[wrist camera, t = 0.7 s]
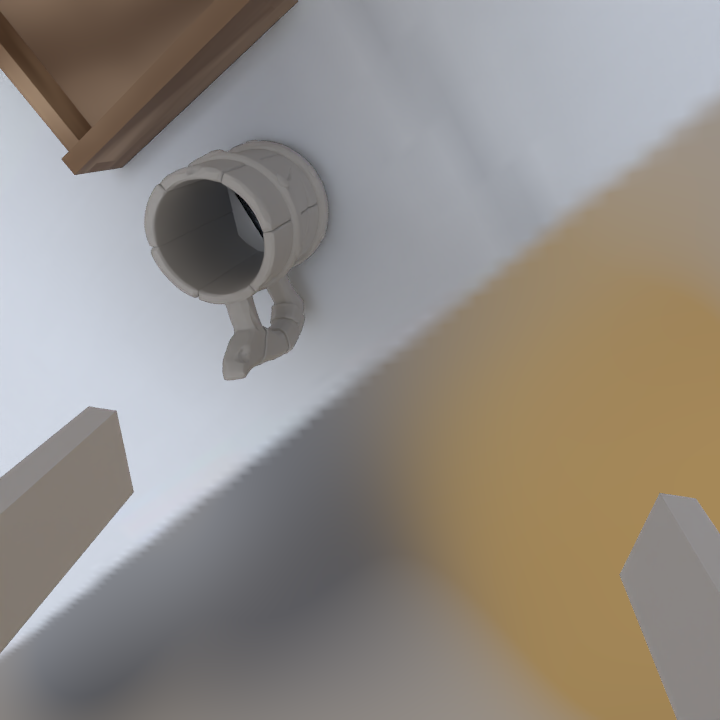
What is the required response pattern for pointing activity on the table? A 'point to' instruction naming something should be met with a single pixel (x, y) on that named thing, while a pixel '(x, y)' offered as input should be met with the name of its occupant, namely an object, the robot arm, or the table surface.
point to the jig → (122, 65)
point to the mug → (241, 240)
